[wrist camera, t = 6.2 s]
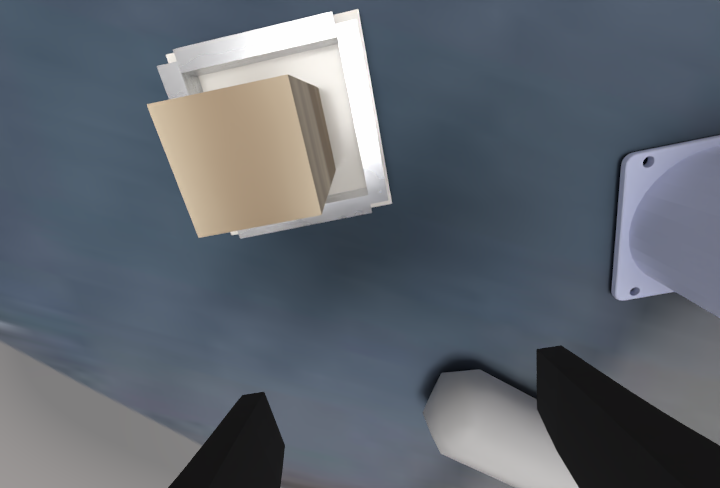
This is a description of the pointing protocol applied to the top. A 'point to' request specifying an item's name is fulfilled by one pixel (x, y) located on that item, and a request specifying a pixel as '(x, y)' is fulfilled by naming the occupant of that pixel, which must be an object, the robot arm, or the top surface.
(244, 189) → the wooden block
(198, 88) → the white square tray
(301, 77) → the tile
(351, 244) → the top surface
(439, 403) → the tube
